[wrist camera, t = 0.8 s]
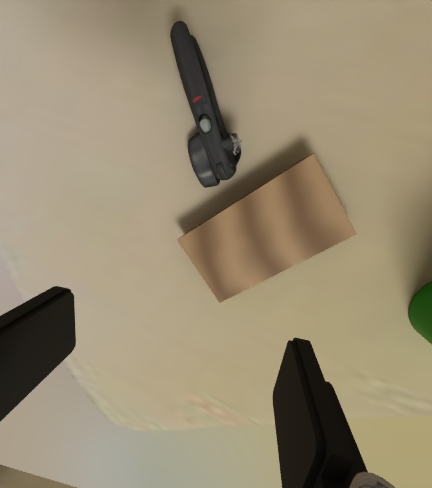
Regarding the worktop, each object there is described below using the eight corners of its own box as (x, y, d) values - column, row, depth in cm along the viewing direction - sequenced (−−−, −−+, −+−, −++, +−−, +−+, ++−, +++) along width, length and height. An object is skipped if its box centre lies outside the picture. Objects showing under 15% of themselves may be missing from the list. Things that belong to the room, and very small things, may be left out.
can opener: (250, 176, 31) (249, 175, 25) (201, 190, 32) (191, 192, 27) (214, 24, 27) (205, -15, 21) (161, 48, 28) (139, 18, 23)
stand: (307, 155, 29) (314, 153, 26) (347, 228, 30) (356, 233, 27) (183, 234, 34) (177, 239, 31) (222, 292, 36) (219, 302, 33)
